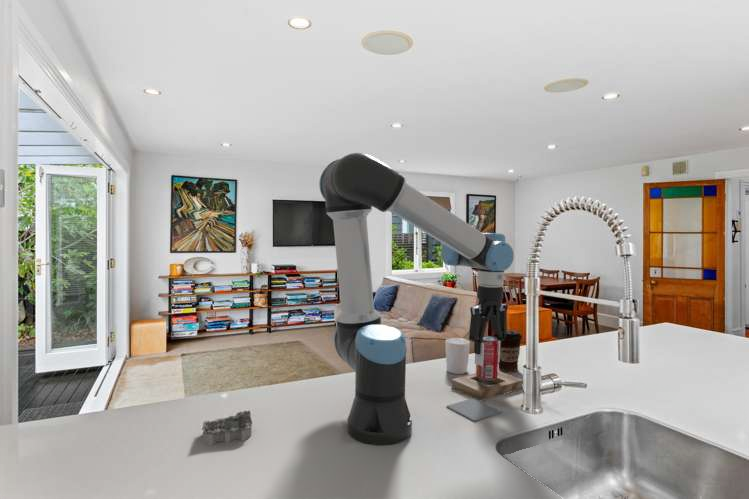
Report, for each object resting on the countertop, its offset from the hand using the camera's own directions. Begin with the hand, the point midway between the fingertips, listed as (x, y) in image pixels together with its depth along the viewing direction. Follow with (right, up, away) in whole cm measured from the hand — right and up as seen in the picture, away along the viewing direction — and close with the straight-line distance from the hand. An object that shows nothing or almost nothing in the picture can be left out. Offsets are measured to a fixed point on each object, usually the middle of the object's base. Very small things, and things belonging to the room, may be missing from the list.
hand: (487, 362), depth 127 cm
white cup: (-6, -7, +16) cm, 18 cm away
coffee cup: (+12, -7, +18) cm, 22 cm away
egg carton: (-67, -9, -31) cm, 74 cm away
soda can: (0, -5, 0) cm, 5 cm away
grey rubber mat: (-7, -8, -15) cm, 19 cm away
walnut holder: (0, -8, +1) cm, 8 cm away
